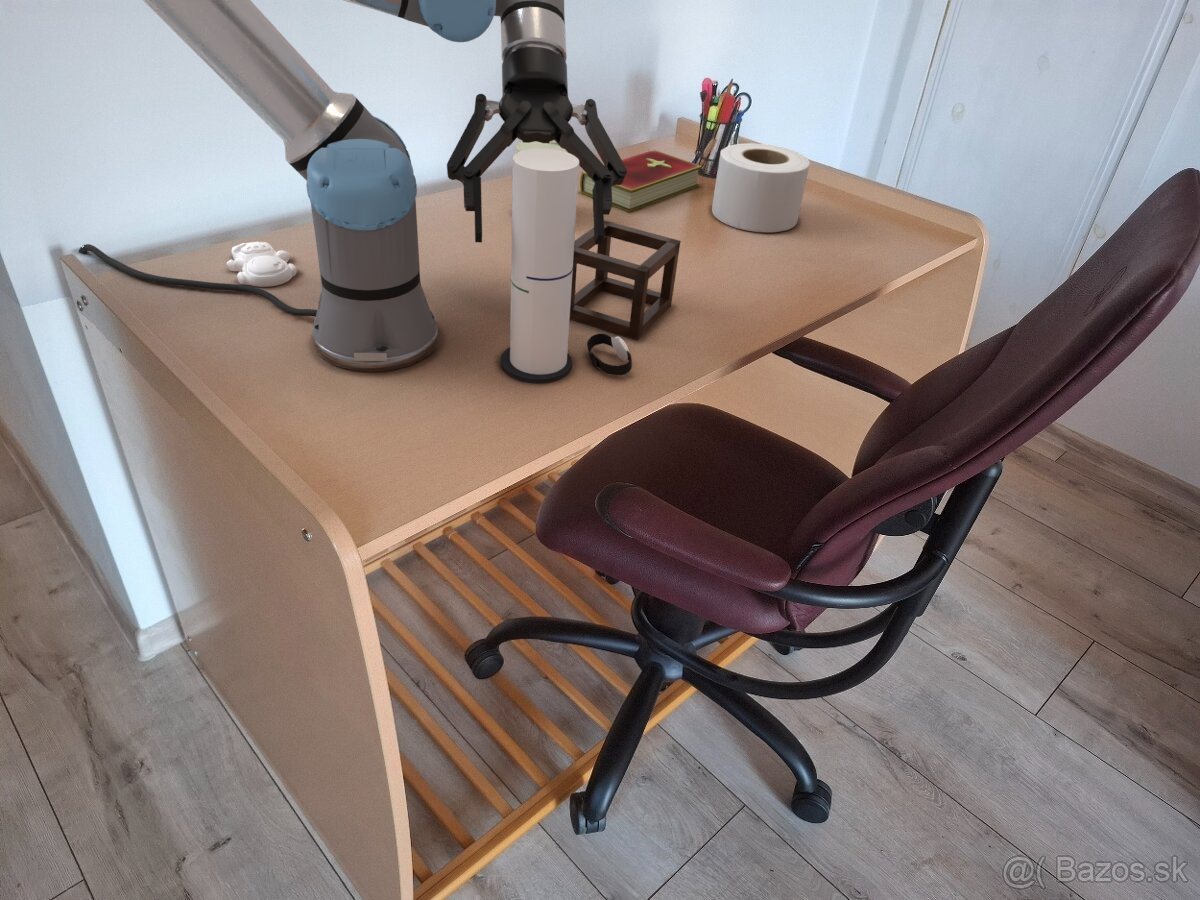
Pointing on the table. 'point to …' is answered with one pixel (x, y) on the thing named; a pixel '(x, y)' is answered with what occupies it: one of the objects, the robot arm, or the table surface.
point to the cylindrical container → (542, 258)
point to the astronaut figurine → (261, 264)
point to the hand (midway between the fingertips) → (539, 239)
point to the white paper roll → (759, 187)
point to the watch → (619, 348)
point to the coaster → (532, 378)
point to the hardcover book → (648, 180)
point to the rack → (639, 273)
